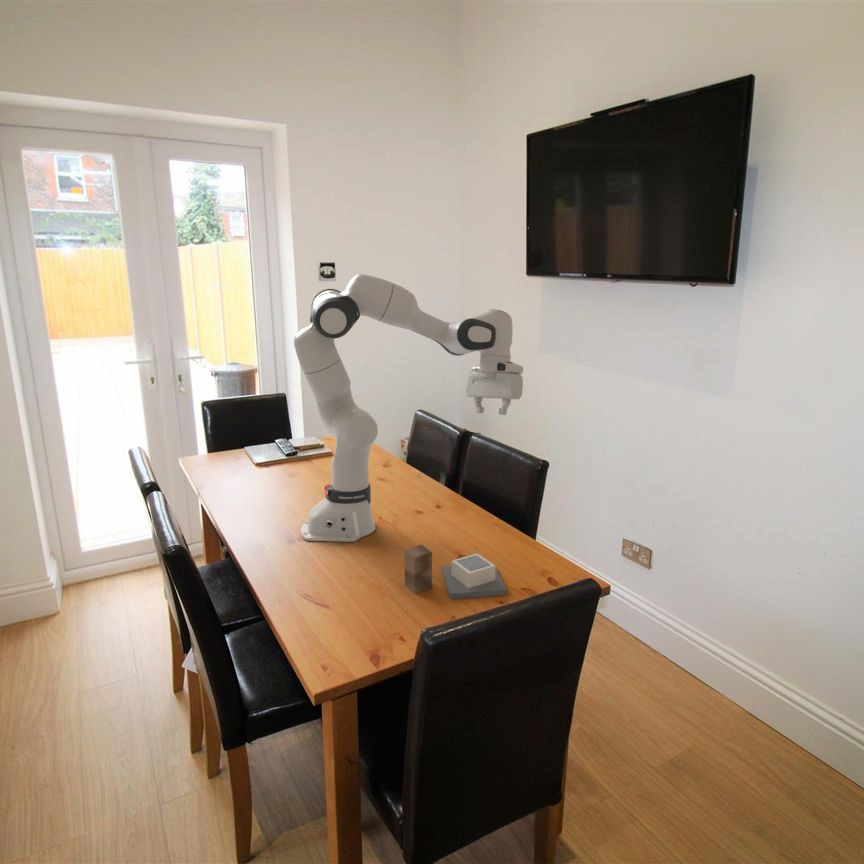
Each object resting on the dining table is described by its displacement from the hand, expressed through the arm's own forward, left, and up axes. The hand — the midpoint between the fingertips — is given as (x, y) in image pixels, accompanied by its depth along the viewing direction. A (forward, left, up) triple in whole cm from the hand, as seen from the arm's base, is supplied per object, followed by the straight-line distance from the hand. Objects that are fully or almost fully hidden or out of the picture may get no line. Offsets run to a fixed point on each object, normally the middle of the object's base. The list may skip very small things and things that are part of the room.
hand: (490, 413), depth 180 cm
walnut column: (-26, -33, -36) cm, 55 cm away
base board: (-12, -33, -36) cm, 50 cm away
